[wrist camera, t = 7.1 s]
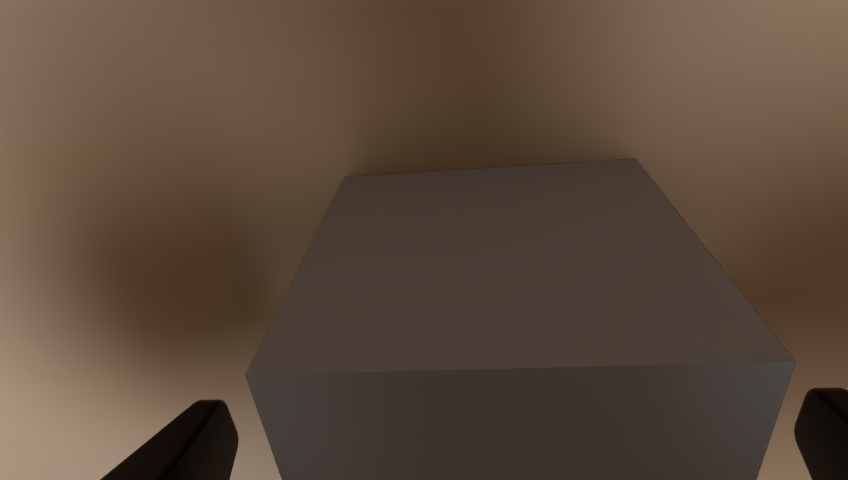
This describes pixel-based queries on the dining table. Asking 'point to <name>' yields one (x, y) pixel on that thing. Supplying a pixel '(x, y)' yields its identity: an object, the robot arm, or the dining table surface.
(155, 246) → the dining table surface
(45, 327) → the dining table surface
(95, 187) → the dining table surface
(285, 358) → the block
